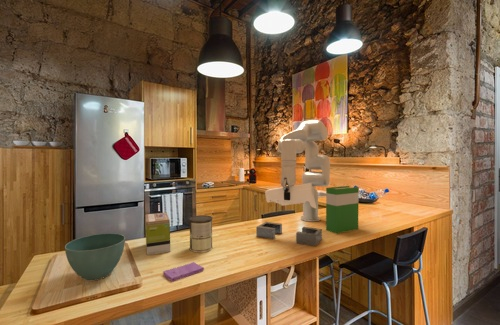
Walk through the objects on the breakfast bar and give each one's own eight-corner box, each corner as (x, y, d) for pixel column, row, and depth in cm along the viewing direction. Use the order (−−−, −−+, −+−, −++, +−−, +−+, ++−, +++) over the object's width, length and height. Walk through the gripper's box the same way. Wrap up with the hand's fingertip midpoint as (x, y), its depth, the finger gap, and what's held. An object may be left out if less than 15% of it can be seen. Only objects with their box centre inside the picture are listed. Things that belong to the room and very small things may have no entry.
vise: (266, 230, 144) (266, 221, 144) (321, 238, 130) (321, 229, 130) (256, 236, 134) (256, 226, 134) (315, 246, 119) (315, 235, 119)
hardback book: (347, 225, 153) (348, 185, 153) (358, 229, 147) (358, 187, 146) (326, 230, 145) (326, 187, 144) (336, 233, 139) (336, 189, 138)
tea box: (145, 244, 123) (145, 213, 122) (167, 241, 127) (167, 211, 126) (146, 255, 109) (145, 221, 108) (170, 252, 113) (170, 218, 112)
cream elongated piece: (315, 209, 123) (309, 183, 123) (268, 214, 135) (263, 191, 135) (317, 207, 128) (312, 182, 128) (272, 212, 140) (267, 189, 140)
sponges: (163, 276, 91) (163, 270, 91) (194, 265, 100) (194, 261, 100) (171, 283, 86) (171, 277, 86) (204, 271, 95) (204, 266, 95)
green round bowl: (130, 277, 89) (129, 243, 89) (65, 294, 79) (64, 254, 78) (121, 260, 104) (120, 230, 104) (65, 272, 93) (65, 239, 93)
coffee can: (185, 248, 117) (185, 217, 117) (204, 242, 124) (204, 214, 124) (197, 254, 110) (197, 221, 109) (217, 248, 117) (217, 217, 117)
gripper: (287, 162, 140) (287, 195, 141) (275, 164, 125) (275, 201, 126) (301, 162, 137) (301, 196, 137) (290, 164, 122) (290, 202, 122)
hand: (289, 198), depth 132 cm, fingers closed on cream elongated piece, 5 cm apart
